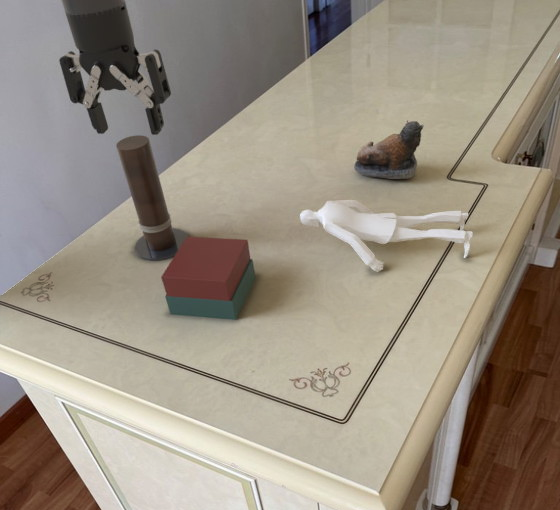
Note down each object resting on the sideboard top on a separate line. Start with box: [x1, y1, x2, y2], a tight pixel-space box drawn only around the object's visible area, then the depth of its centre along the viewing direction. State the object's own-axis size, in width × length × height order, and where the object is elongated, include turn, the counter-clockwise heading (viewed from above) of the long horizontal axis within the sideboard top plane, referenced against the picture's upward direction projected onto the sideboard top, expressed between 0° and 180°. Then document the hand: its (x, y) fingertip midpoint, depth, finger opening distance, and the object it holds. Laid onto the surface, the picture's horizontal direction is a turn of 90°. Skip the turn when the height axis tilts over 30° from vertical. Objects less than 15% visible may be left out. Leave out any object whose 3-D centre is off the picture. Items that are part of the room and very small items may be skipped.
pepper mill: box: [115, 134, 176, 251], centre depth 91 cm, size 15×5×15 cm
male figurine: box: [299, 199, 473, 273], centre depth 88 cm, size 14×6×25 cm
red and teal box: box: [160, 236, 256, 321], centre depth 84 cm, size 10×10×7 cm
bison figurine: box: [353, 120, 425, 180], centre depth 103 cm, size 12×7×10 cm, turn 63°
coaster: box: [134, 227, 189, 262], centre depth 97 cm, size 9×9×1 cm
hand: (130, 132), depth 84 cm, fingers open, 8 cm apart
